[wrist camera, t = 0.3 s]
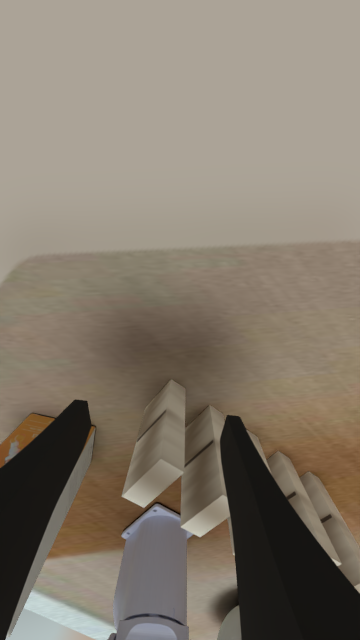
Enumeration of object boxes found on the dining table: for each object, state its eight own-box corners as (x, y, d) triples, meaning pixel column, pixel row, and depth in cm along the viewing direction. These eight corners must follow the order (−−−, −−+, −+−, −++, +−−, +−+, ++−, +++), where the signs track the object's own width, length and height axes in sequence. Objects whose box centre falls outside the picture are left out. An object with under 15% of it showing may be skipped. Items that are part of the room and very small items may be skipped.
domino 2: (195, 439, 25) (200, 537, 16) (182, 430, 24) (180, 527, 16) (223, 413, 23) (243, 506, 15) (209, 404, 23) (222, 494, 14)
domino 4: (290, 497, 27) (336, 608, 19) (279, 491, 27) (321, 600, 19) (319, 478, 26) (383, 588, 18) (308, 471, 26) (368, 579, 17)
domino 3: (260, 479, 27) (295, 587, 18) (249, 472, 26) (279, 578, 18) (289, 458, 25) (342, 564, 17) (278, 450, 25) (325, 554, 16)
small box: (97, 425, 25) (5, 599, 12) (92, 461, 27) (9, 642, 14) (30, 411, 24) (-133, 576, 12) (30, 448, 26) (-109, 623, 14)
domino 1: (159, 416, 24) (144, 508, 15) (145, 407, 23) (121, 496, 15) (185, 388, 22) (184, 472, 14) (171, 378, 22) (160, 458, 14)
